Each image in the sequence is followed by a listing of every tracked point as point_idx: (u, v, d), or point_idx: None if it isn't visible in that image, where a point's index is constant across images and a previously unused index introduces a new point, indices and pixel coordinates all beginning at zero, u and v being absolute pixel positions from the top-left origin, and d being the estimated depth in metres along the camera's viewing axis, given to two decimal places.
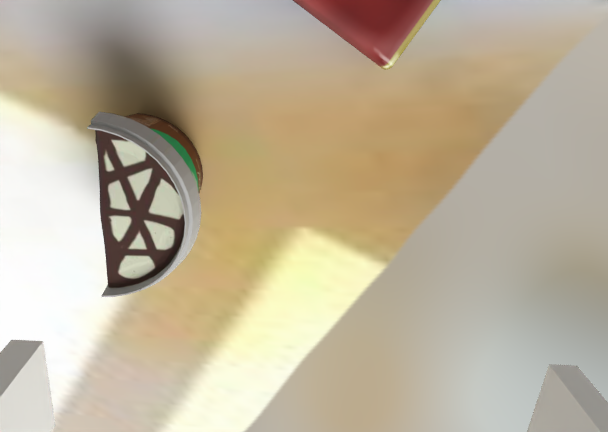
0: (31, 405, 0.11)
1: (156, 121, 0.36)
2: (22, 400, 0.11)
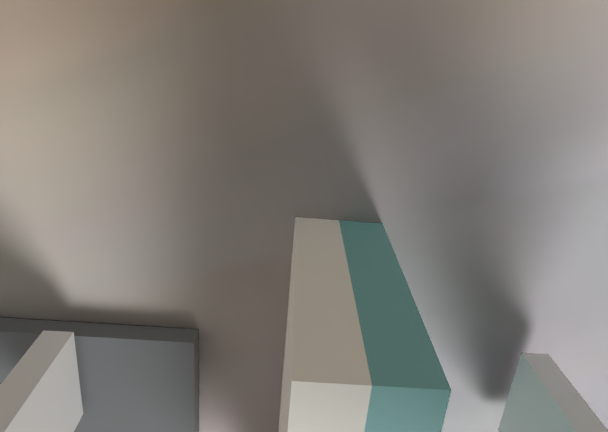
0: (63, 393, 0.12)
1: None
2: (55, 388, 0.11)
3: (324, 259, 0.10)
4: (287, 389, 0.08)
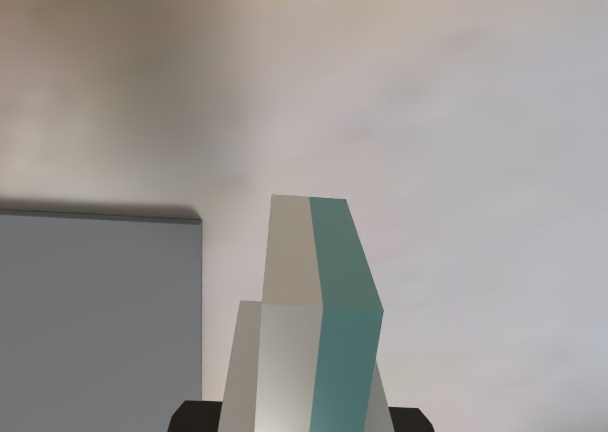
0: None
1: None
2: None
3: (294, 226, 0.12)
4: None
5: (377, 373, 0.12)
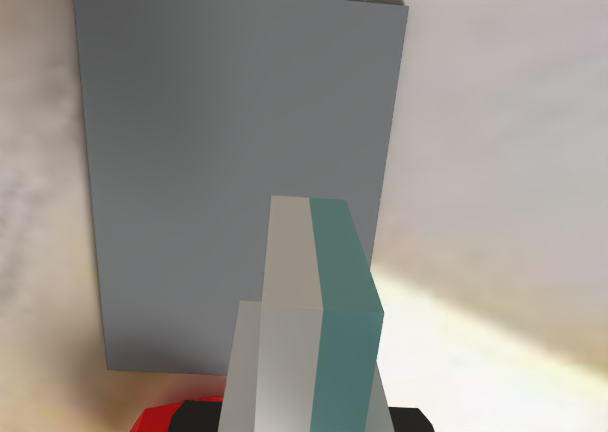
0: None
1: None
2: None
3: (293, 227, 0.12)
4: None
5: (377, 373, 0.12)
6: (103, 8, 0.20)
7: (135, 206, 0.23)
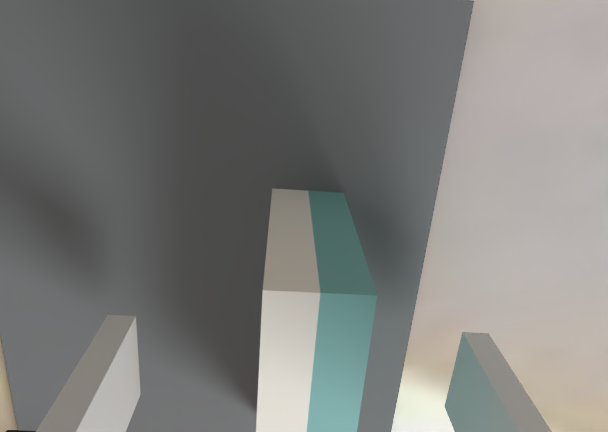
0: (128, 373, 0.13)
1: None
2: (123, 367, 0.12)
3: (293, 218, 0.13)
4: None
5: (536, 411, 0.11)
6: None
7: (58, 298, 0.16)
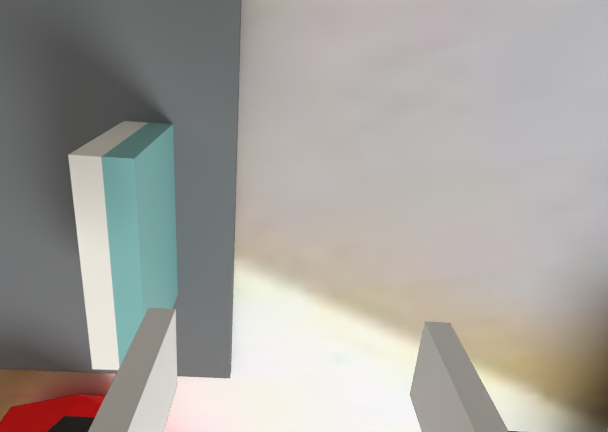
0: (169, 363, 0.13)
1: None
2: (166, 358, 0.13)
3: (121, 132, 0.20)
4: None
5: (487, 395, 0.11)
6: None
7: None
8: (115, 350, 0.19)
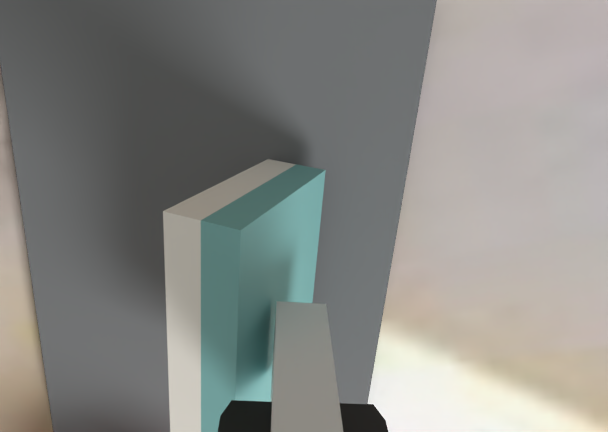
0: None
1: None
2: None
3: (253, 178, 0.15)
4: None
5: (332, 369, 0.12)
6: (30, 1, 0.15)
7: (83, 254, 0.18)
8: None
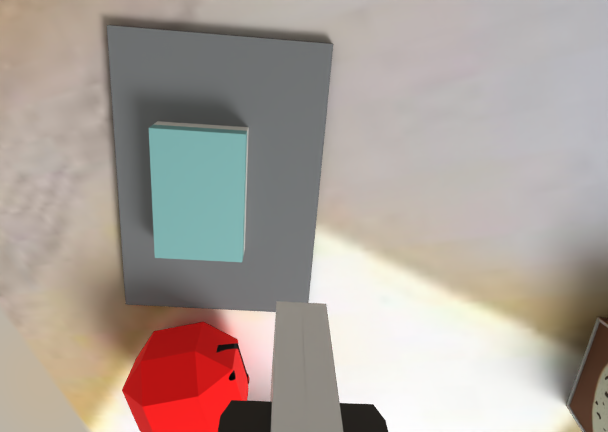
0: None
1: None
2: None
3: (212, 126, 0.31)
4: None
5: (333, 369, 0.12)
6: (127, 46, 0.30)
7: (148, 181, 0.33)
8: None
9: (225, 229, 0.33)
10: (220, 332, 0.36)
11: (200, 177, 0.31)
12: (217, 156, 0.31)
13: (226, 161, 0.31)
